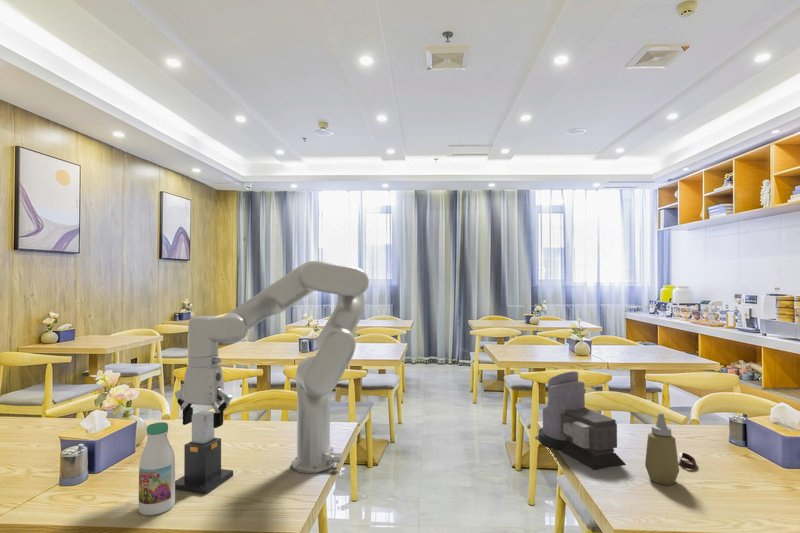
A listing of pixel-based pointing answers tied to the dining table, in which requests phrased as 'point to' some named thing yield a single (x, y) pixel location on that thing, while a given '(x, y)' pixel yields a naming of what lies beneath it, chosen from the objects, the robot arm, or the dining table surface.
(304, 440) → the robot arm
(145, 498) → the milk bottle
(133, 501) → the dining table surface
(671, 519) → the dining table surface
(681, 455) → the watch
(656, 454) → the squeeze bottle
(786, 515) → the dining table surface
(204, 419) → the stand column
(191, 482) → the stand base
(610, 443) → the grey blocky piece
